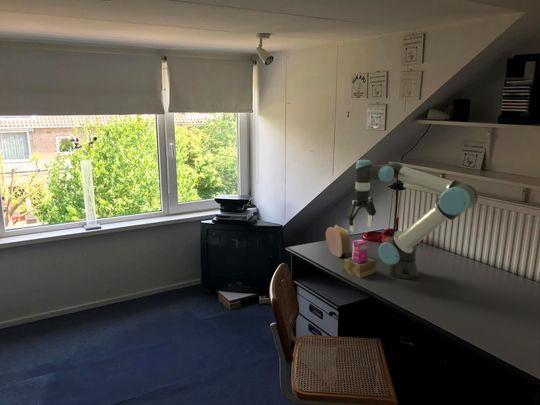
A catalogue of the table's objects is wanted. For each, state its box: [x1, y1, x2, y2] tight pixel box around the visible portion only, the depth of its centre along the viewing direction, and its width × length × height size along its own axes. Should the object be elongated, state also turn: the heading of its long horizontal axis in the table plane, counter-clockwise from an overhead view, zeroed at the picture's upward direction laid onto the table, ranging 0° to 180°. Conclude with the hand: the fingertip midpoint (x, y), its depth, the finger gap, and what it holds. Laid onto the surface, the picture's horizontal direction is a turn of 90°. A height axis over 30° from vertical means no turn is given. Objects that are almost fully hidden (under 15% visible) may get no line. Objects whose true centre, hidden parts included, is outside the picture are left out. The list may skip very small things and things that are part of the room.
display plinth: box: [343, 256, 377, 279], centre depth 239 cm, size 12×12×7 cm
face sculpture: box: [325, 224, 351, 259], centre depth 266 cm, size 20×7×17 cm, turn 25°
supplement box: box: [351, 239, 368, 264], centre depth 237 cm, size 6×6×12 cm
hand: (361, 229), depth 234 cm, fingers open, 13 cm apart
